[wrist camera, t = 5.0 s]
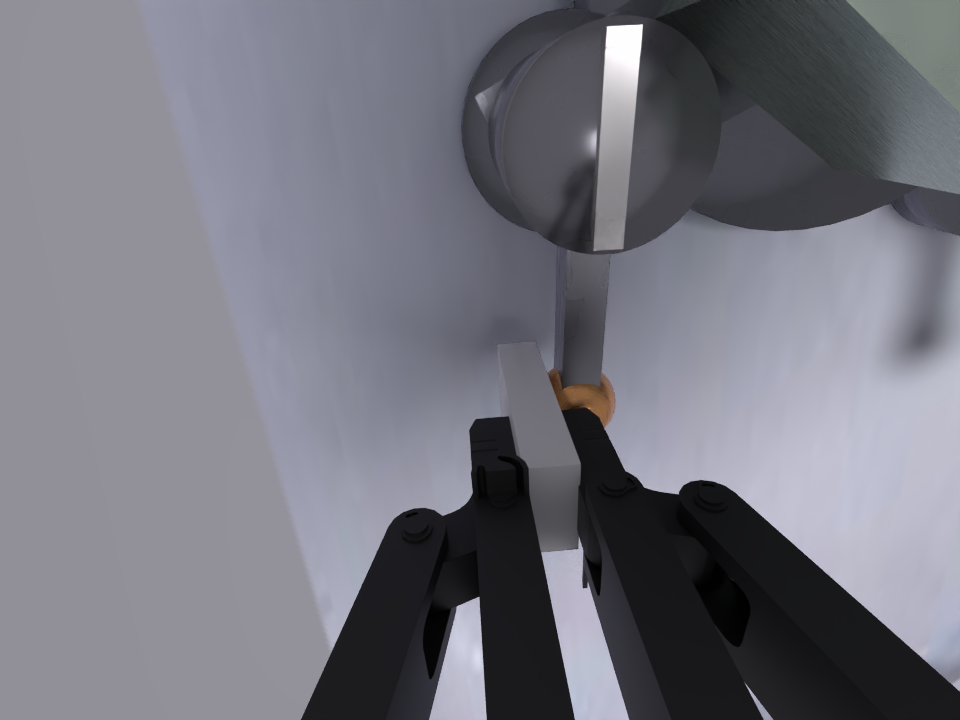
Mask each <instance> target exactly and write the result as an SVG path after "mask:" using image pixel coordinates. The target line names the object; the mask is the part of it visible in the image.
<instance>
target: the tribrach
mask: <svg viewBox="0 0 960 720" xmlns="http://www.w3.org/2000/svg"><path fill="white" fill-rule="evenodd" d="M574 7H575V9H559V10H555V11H550V12H545V13H543V14H540V15H537V16H534V17H532V18H530V19H528V20H526V21H525V22H523V23H521V24H519V25H518V26H516V27H515V28H514V29H512V30H511V31H509V32H508V33H507V34H506V35H505V36H504V37H503V38H501V39H500V40H499V41H498V42H497V43H496V44H495V45H494V47H493V48H492V49H491V50H490V52H489V53H488V54H487V55H486V57H485V58H484V59H483V61H482V62H481V64H480V65H479V67H478V69H477V70H476V72H475V74H474V76H473V78H472V80H471V82H470V85H469V87H468V91H467V94H466V97H465V101H464V106H463V111H462V125H461V128H462V141H463V147H464V153H465V158H466V161H467V165H468V168H469V171H470V173H471V176H472V178H473V180H474V182H475V184H476V186H477V188H478V189H479V191H480V193H481V194H482V196H483V197H484V198H485V199H486V201H487V202H488V203H489V204H490V205H491V206H492V207H493V208H494V209H495V210H496V211H497V212H498V213H499V214H501V215H502V216H503V217H505V218H506V219H508V220H509V221H511V222H513V223H515V224H517V225H518V226H521V227H523V228H526V229H529V230H532V231H536V230H534V228H533V227H532V226H531V225H530V224H529V223H528V222H527V221H526V220H525V218H524V217H523V215H522V214H521V212H520V211H519V209H518V208H517V206H516V204H515V203H514V201H513V199H512V197H511V196H510V194H509V192H508V190H507V189H506V187H505V185H504V183H503V181H502V180H501V178H500V176H499V174H498V172H497V170H496V168H495V166H494V163H493V160H492V157H491V153H490V148H489V139H488V128H489V119H490V113H491V109H492V105H493V102H494V99H495V97H496V94H497V92H498V90H499V88H500V86H501V85H502V83H503V81H504V80H505V78H506V77H507V76H508V74H509V73H510V72H511V70H512V69H513V68H514V67H515V66H516V65H517V64H518V63H519V62H520V61H522V60H523V59H524V58H525V57H526V56H528V55H529V54H531V53H533V52H534V51H536V50H537V49H539V48H541V47H543V46H545V45H546V44H548V43H550V42H552V41H554V40H555V39H557V38H559V37H561V36H562V35H564V34H566V33H568V32H570V31H571V30H573V29H575V28H577V27H579V26H582V25H584V24H586V23H588V22H591V21H595V20H598V19H602V18H605V17H612V16H620V15H626V16H640V17H645V18H651V19H654V20H657V21H659V22H662V23H665V24H667V25H669V26H670V27H672V28H674V29H675V30H677V31H679V32H680V33H681V34H683V35H684V36H685V37H686V38H687V39H689V40H690V41H691V42H692V43H693V44H694V45H695V47H696V48H697V49H698V50H699V51H700V52H701V54H702V55H703V57H704V59H705V60H706V62H707V63H708V65H709V67H710V69H711V72H712V74H713V76H714V78H715V81H716V85H717V88H718V92H719V96H720V103H721V112H722V128H721V137H720V144H719V148H718V153H717V157H716V160H715V163H714V166H713V169H712V172H711V174H710V176H709V178H708V180H707V182H706V184H705V186H704V188H703V190H702V191H701V193H700V195H699V196H698V198H697V199H696V201H695V202H694V203H693V204H692V206H691V207H690V209H692V210H694V211H696V212H698V213H700V214H703V215H705V216H708V217H710V218H713V219H715V220H718V221H720V222H722V223H726V224H731V225H735V226H739V227H743V228H748V229H758V230H769V231H785V230H803V229H809V228H814V227H820V226H825V225H831V224H834V223H837V222H841V221H844V220H847V219H851V218H854V217H857V216H860V215H863V214H865V213H867V212H870V211H872V210H874V209H877V208H879V207H881V206H884V205H886V204H889V203H890V202H891V203H892V205H893V206H894V208H895V209H896V210H897V211H898V212H899V213H900V214H901V215H902V216H903V217H905V218H906V219H908V220H909V221H912V222H914V223H916V224H919V225H923V226H927V227H930V228H934V229H937V230H941V231H945V232H948V233H952V234H956V235H959V236H960V0H575V6H574Z"/></svg>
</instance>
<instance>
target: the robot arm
mask: <svg viewBox="0 0 960 720" xmlns="http://www.w3.org/2000/svg"><path fill="white" fill-rule="evenodd" d="M497 349H498V367H499V384H500V401H501V413H502V417H495V418H484V419H476V420H475V421H474V423H473V425H472V426H471V428H470V430H469V431H470V446H471V460H472V471H471V478H472V488H473V494H472V496H471V498H470V500H469V501H468V502H467V503H466V504H465V505H464V506H463V507H461V508H460V509H459V510H456V511H454V512H452V513H450V514H447V515H444V516H442V515H440V514H439V513H438V512H436V511H435V510H431V509H427V508H416V509H411V510H409V511H406V512H403V513H402V514H400V515H399V516H397V517H396V518H395V519H394V520H393V521H392V523H391V524H390V525H389V527H388V529H387V531H386V533H385V536H384V538H383V540H382V542H381V544H380V547H379V549H378V551H377V553H376V555H375V558H374V560H373V562H372V564H371V567H370V569H369V571H368V573H367V575H366V578H365V580H364V582H363V584H362V586H361V589H360V591H359V593H358V595H357V597H356V600H355V602H354V604H353V606H352V608H351V611H350V613H349V615H348V617H347V619H346V622H345V624H344V626H343V628H342V630H341V633H340V635H339V637H338V639H337V642H336V644H335V646H334V648H333V650H332V653H331V655H330V657H329V659H328V661H327V664H326V666H325V668H324V671H323V673H322V675H321V677H320V679H319V681H318V683H317V686H316V688H315V690H314V692H313V694H312V697H311V699H310V701H309V703H308V705H307V708H306V710H305V712H304V714H303V716H302V719H301V720H429V717H430V713H431V709H432V705H433V701H434V697H435V693H436V689H437V685H438V681H439V677H440V673H441V669H442V665H443V661H444V657H445V653H446V649H447V645H448V641H449V637H450V633H451V629H452V625H453V621H454V617H455V613H456V606H458V605H461V604H463V603H465V602H468V601H470V600H472V599H475V598H477V597H480V613H481V630H482V647H483V663H484V680H485V697H486V713H487V720H575V718H574V713H573V708H572V703H571V698H570V693H569V688H568V683H567V678H566V673H565V668H564V663H563V659H562V654H561V649H560V644H559V639H558V634H557V629H556V624H555V619H554V614H553V609H552V604H551V599H550V594H549V589H548V584H547V579H546V574H545V569H544V565H543V560H542V555H541V552H551V551H562V550H572V549H578V540H579V537H580V541H581V544H582V547H583V577H582V582H583V588H587V583H589V586H590V590H591V593H592V596H593V600H594V603H595V606H596V610H597V613H598V616H599V620H600V623H601V626H602V630H603V633H604V636H605V640H606V643H607V646H608V650H609V653H610V656H611V660H612V663H613V666H614V670H615V673H616V676H617V680H618V683H619V686H620V690H621V693H622V696H623V700H624V703H625V706H626V710H627V713H628V716H629V720H764V719H763V718H762V716H761V714H760V712H759V710H758V708H757V706H756V704H755V702H754V700H753V698H752V696H751V694H750V692H749V690H748V688H747V687H746V685H747V686H748V687H749V688H750V690H751V691H752V692H753V694H754V695H755V696H756V698H757V699H758V700H759V701H760V703H761V704H762V705H763V707H764V708H765V709H766V711H767V712H768V713H769V714H770V716H771V717H772V718H773V720H960V691H958V690H957V689H956V688H955V687H954V686H953V685H952V684H951V683H949V682H948V681H947V680H946V679H945V678H944V677H943V676H942V675H940V674H939V673H938V672H937V671H936V670H935V669H934V668H933V667H931V666H930V665H929V664H928V663H927V662H926V661H925V660H923V659H922V658H921V657H920V656H919V655H918V654H917V653H916V652H914V651H913V650H912V649H911V648H910V647H909V646H908V645H907V644H905V643H904V642H903V641H902V640H901V639H900V638H899V637H897V636H896V635H895V634H894V633H893V632H892V631H891V630H890V629H888V628H887V627H886V626H885V625H884V624H883V623H882V622H881V621H879V620H878V619H877V618H876V617H875V616H874V615H873V614H872V613H870V612H869V611H868V610H867V609H866V608H865V607H864V606H862V605H861V604H860V603H859V602H858V601H857V600H856V599H855V598H853V597H852V596H851V595H850V594H849V593H848V592H847V591H846V590H844V589H843V588H842V587H841V586H840V585H839V584H838V583H837V582H835V581H834V580H833V579H832V578H831V577H830V576H829V575H827V574H826V573H825V572H824V571H823V570H822V569H821V568H820V567H818V566H817V565H816V564H815V563H814V562H813V561H812V560H811V559H809V558H808V557H807V556H806V555H805V554H804V553H803V552H801V551H800V550H799V549H798V548H797V547H796V546H795V545H794V544H792V543H791V542H790V541H789V540H788V539H787V538H786V537H785V536H783V535H782V534H781V533H780V532H779V531H778V530H777V529H776V528H774V527H773V526H772V525H771V524H770V523H769V522H768V521H766V520H765V519H764V518H763V517H762V516H761V515H760V514H759V513H757V512H756V511H755V510H754V509H753V508H752V507H751V506H750V505H748V504H747V503H746V502H745V501H744V500H743V499H742V498H741V497H739V496H738V495H737V494H736V493H735V492H733V491H732V490H730V489H729V488H727V487H726V486H724V485H721V484H718V483H716V482H712V481H704V480H699V481H691V482H689V483H687V484H685V485H683V487H682V488H681V490H680V492H679V495H678V494H671V493H664V492H658V491H653V490H649V489H647V488H644V487H643V485H642V484H641V482H640V481H639V480H638V479H637V478H636V477H635V476H633V475H632V474H630V473H628V472H626V471H625V470H624V468H623V466H622V464H621V462H620V459H619V457H618V455H617V453H616V451H615V449H614V447H613V445H612V443H611V441H610V440H609V437H608V435H607V433H606V431H605V430H604V426H603V424H602V422H601V420H600V418H599V417H598V416H597V415H596V414H594V413H593V412H592V411H591V410H589V409H588V408H582V409H571V410H561V409H560V406H559V404H558V401H557V398H556V395H555V393H554V390H553V387H552V385H551V382H550V379H549V377H548V374H547V371H546V369H545V366H544V363H543V360H542V358H541V355H540V352H539V350H538V347H537V344H536V342H535V341H530V342H518V343H506V344H497ZM744 682H745V683H746V685H745V683H744Z"/></svg>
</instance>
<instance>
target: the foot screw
mask: <svg viewBox="0 0 960 720" xmlns="http://www.w3.org/2000/svg"><path fill="white" fill-rule="evenodd" d="M721 128H722V112H721V103H720V96H719V92H718V88H717V85H716V81H715V78H714V76H713V74H712V72H711V69H710V67H709V65H708V63H707V62H706V60H705V59H704V57H703V55H702V54H701V52H700V51H699V50H698V49H697V48H696V47H695V45H694V44H693V43H692V42H691V41H690V40H689V39H687V38H686V37H685V36H684V35H683V34H681V33H680V32H679V31H677V30H675V29H674V28H672V27H670V26H669V25H667V24H665V23H662V22H659V21H657V20H654V19H651V18H645V17H640V16H626V15H620V16H612V17H605V18H602V19H598V20H595V21H591V22H588V23H586V24H584V25H582V26H579V27H577V28H575V29H573V30H571V31H570V32H568V33H566V34H564V35H562V36H561V37H559V38H557V39H555V40H554V41H552V42H550V43H548V44H546V45H545V46H543V47H541V48H539V49H537V50H536V51H534V52H533V53H531V54H529V55H528V56H526V57H525V58H524V59H523V60H522V61H520V62H519V63H518V64H517V65H516V66H515V67H514V68H513V69H512V70H511V72H510V73H509V74H508V76H507V77H506V78H505V80H504V81H503V83H502V85H501V86H500V88H499V90H498V92H497V94H496V97H495V99H494V102H493V105H492V109H491V113H490V119H489V128H488V139H489V148H490V153H491V157H492V160H493V163H494V166H495V168H496V170H497V172H498V174H499V176H500V178H501V180H502V181H503V183H504V185H505V187H506V189H507V190H508V192H509V194H510V196H511V197H512V199H513V201H514V203H515V204H516V206H517V208H518V209H519V211H520V212H521V214H522V215H523V217H524V218H525V220H526V221H527V222H528V223H529V224H530V225H531V226H532V227H533V228H534V230H536V231H537V232H538V233H539V234H540V235H542V236H543V237H544V238H546V239H547V240H549V241H550V242H552V243H554V244H555V245H557V272H556V311H555V350H554V368H553V369H552V370H551V371H549V372H548V373H547V374H548V377H549V379H550V382H551V385H552V387H553V390H554V393H555V395H556V398H557V401H558V404H559V406H560V409H561V410H571V409H582V408H588V409H589V410H591V411H592V412H593V413H594V414H596V415H597V416H598V417H599V418H600V420H601V422H602V424H603V426H604V429H605V428H606V427H607V425H608V424H609V422H610V421H611V419H612V417H613V414H614V411H615V393H614V390H613V387H612V385H611V383H610V381H609V380H608V378H607V377H606V376H605V375H604V374H603V373H602V372H601V370H602V357H603V344H604V331H605V318H606V305H607V292H608V279H609V265H610V254H614V253H619V252H623V251H627V250H631V249H633V248H636V247H639V246H641V245H644V244H646V243H647V242H649V241H651V240H653V239H655V238H657V237H658V236H659V235H661V234H662V233H664V232H665V231H667V230H668V229H669V228H670V227H672V226H673V225H674V224H675V223H676V222H677V221H678V220H679V219H680V218H681V217H682V216H683V215H684V214H685V213H686V212H687V211H688V210H689V208H690V207H691V206H692V204H693V203H694V202H695V201H696V199H697V198H698V196H699V195H700V193H701V191H702V190H703V188H704V186H705V184H706V182H707V180H708V178H709V176H710V174H711V172H712V169H713V166H714V163H715V160H716V157H717V153H718V148H719V144H720V137H721Z"/></svg>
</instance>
